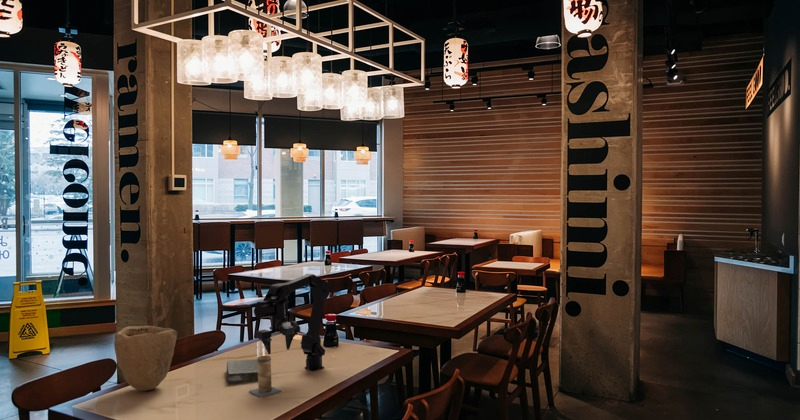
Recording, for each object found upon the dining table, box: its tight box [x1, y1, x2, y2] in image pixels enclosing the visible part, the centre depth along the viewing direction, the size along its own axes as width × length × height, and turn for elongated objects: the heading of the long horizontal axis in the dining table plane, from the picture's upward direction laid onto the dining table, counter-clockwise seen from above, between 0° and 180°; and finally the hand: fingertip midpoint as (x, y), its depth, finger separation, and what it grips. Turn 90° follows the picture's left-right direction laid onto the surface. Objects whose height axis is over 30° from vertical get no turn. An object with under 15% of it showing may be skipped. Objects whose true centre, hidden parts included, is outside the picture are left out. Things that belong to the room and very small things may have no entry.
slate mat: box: [248, 386, 282, 399], centre depth 211 cm, size 9×9×1 cm
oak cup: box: [256, 355, 273, 393], centre depth 211 cm, size 5×5×13 cm
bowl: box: [113, 325, 178, 392], centre depth 215 cm, size 22×22×25 cm
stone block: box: [226, 358, 258, 385], centre depth 232 cm, size 14×20×5 cm
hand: (278, 351), depth 225 cm, fingers open, 9 cm apart
